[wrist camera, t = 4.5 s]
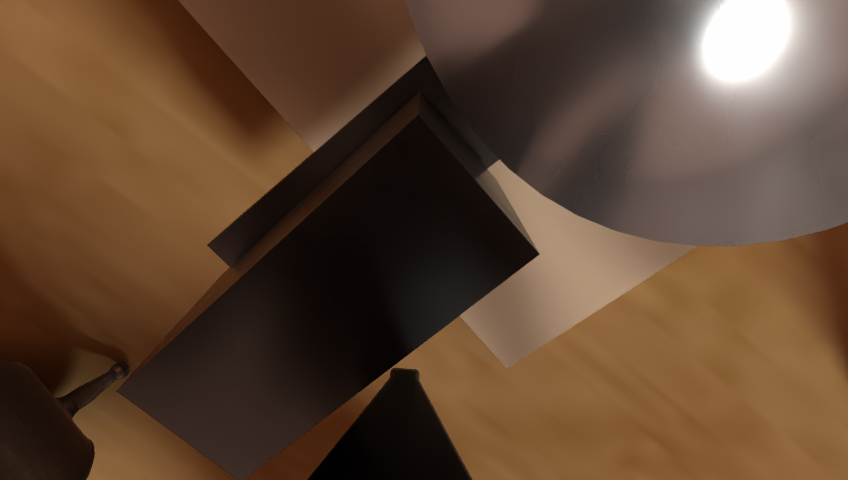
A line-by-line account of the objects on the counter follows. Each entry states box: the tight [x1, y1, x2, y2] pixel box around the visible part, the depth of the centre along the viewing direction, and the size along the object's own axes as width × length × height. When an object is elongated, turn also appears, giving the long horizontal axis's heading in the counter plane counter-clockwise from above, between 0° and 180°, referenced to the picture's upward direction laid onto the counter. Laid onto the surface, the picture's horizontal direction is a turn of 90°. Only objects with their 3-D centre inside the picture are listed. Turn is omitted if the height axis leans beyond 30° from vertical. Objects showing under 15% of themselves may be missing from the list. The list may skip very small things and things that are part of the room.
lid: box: [117, 0, 848, 480], centre depth 7 cm, size 19×12×4 cm, turn 132°
